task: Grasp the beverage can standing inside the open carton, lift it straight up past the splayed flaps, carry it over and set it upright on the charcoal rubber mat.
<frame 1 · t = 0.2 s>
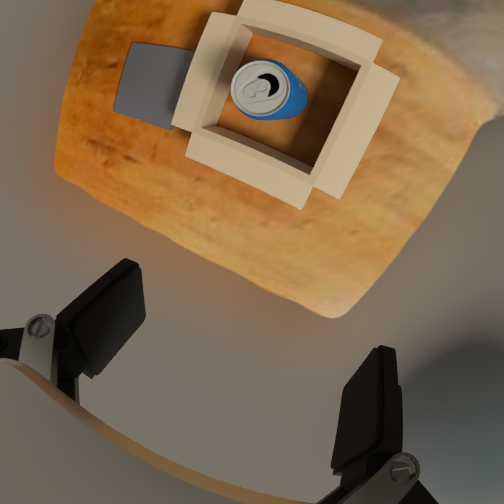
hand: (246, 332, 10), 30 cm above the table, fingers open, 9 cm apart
mat: (152, 82, 35), on the table
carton: (284, 96, 32), on the table
beverage can: (284, 96, 32), resting in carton
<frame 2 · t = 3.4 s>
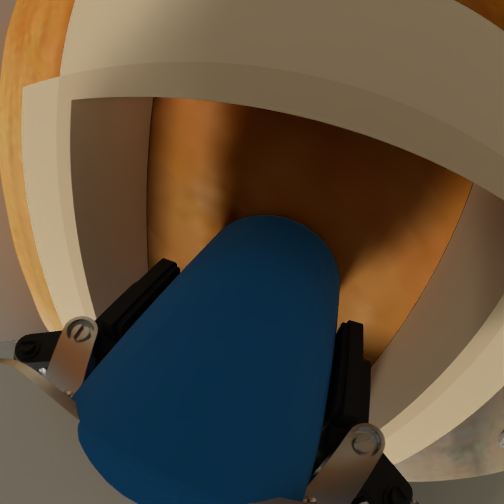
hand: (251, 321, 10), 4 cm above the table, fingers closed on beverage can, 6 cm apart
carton: (274, 272, 13), on the table
beverage can: (275, 269, 14), resting in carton, touching gripper
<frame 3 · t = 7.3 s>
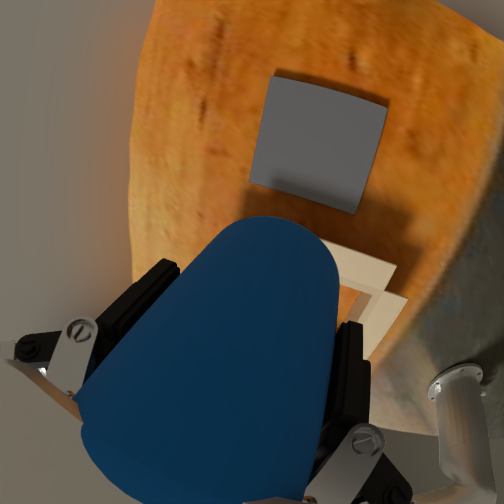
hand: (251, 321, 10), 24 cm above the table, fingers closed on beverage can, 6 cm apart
mat: (316, 143, 28), on the table
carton: (301, 297, 39), on the table
beverage can: (274, 270, 14), point 20 cm above the table, touching gripper
when the fingers open (6 cm above the table, at t = 11.5 s): beverage can drops 2 cm, resting on mat.
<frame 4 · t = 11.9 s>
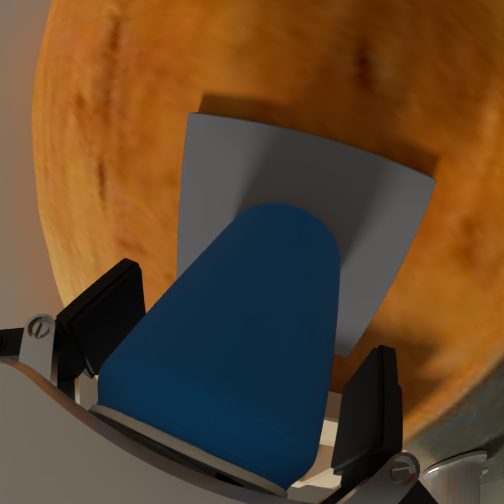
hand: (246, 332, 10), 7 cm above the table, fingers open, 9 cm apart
mat: (285, 245, 16), on the table
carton: (271, 417, 26), on the table
beverage can: (282, 252, 15), point 1 cm above the table, touching mat
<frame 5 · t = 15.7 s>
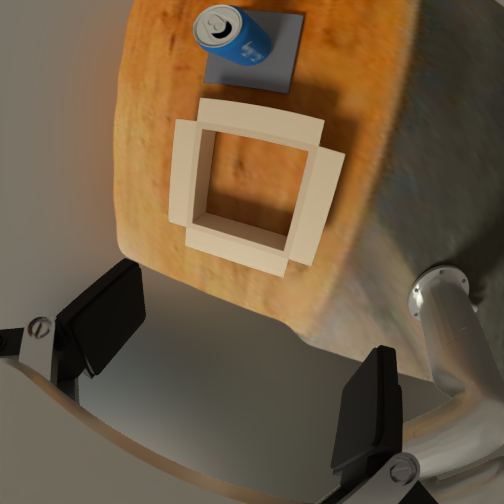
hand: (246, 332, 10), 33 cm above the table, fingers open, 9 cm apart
mat: (253, 48, 31), on the table
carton: (254, 181, 42), on the table
beverage can: (251, 47, 31), point 1 cm above the table, touching mat
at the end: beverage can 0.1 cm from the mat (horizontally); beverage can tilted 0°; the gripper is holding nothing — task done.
